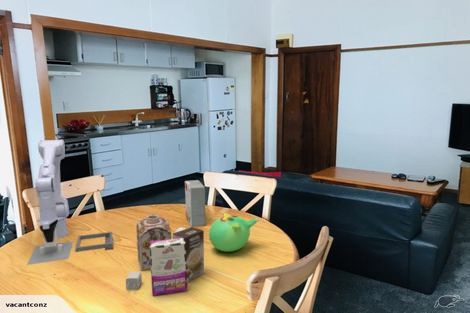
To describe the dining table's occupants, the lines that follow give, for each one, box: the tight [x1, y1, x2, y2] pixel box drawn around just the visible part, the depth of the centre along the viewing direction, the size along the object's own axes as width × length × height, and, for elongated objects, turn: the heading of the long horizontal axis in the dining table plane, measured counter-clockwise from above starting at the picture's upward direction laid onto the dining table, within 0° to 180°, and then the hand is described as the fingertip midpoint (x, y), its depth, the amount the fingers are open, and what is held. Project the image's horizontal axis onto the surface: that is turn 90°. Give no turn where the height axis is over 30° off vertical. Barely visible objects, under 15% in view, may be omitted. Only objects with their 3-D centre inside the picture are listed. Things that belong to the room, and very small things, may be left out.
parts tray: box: [75, 231, 114, 253], centre depth 148 cm, size 14×14×2 cm
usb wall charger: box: [125, 271, 143, 291], centre depth 113 cm, size 4×7×4 cm, turn 2°
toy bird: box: [208, 212, 259, 252], centre depth 142 cm, size 18×17×15 cm
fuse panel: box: [26, 241, 74, 266], centre depth 138 cm, size 18×14×4 cm
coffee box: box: [172, 226, 205, 283], centre depth 120 cm, size 9×6×16 cm
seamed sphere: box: [173, 226, 187, 233], centre depth 149 cm, size 10×7×7 cm
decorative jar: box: [136, 214, 173, 272], centre depth 130 cm, size 12×12×18 cm
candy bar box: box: [150, 238, 188, 297], centre depth 111 cm, size 11×5×16 cm, turn 105°
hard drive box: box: [184, 179, 207, 228], centre depth 175 cm, size 16×8×20 cm, turn 17°
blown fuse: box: [43, 227, 58, 247], centre depth 138 cm, size 3×4×7 cm
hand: (50, 240), depth 138 cm, fingers closed on blown fuse, 3 cm apart
